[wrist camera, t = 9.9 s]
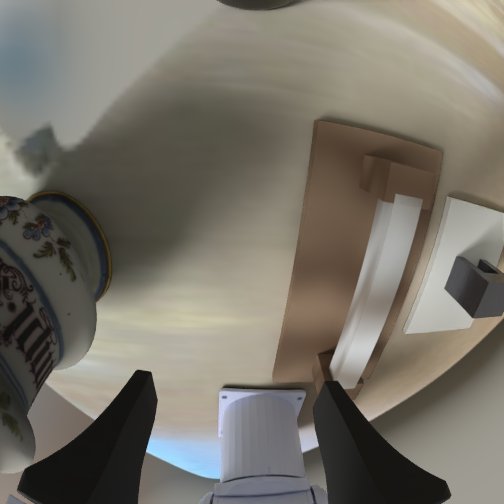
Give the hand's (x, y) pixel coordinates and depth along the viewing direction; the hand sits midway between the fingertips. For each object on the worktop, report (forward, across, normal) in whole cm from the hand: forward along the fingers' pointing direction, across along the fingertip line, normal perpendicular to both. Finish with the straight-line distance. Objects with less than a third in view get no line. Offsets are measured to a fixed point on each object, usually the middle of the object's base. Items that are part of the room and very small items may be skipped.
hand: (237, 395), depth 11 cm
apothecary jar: (+10, +14, -1) cm, 17 cm away
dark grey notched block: (+9, -19, -2) cm, 21 cm away
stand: (+9, -8, -1) cm, 12 cm away
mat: (+9, -19, -2) cm, 21 cm away
